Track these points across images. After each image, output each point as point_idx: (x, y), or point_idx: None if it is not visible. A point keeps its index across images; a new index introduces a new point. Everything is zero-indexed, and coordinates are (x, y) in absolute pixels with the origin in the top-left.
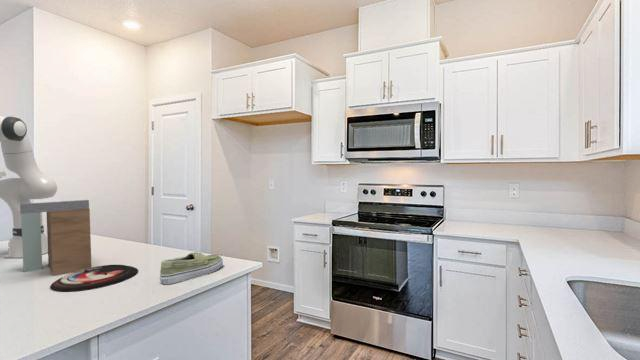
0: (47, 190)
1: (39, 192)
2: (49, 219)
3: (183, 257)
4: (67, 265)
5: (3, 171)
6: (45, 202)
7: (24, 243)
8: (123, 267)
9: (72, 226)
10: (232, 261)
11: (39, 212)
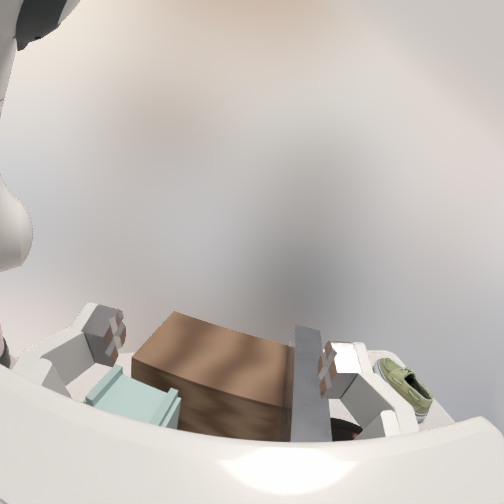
0: (25, 248)
1: (7, 258)
2: (252, 423)
3: (405, 381)
4: None
5: (364, 346)
6: (302, 393)
7: None
8: (336, 428)
9: None
10: (370, 355)
11: (179, 404)
